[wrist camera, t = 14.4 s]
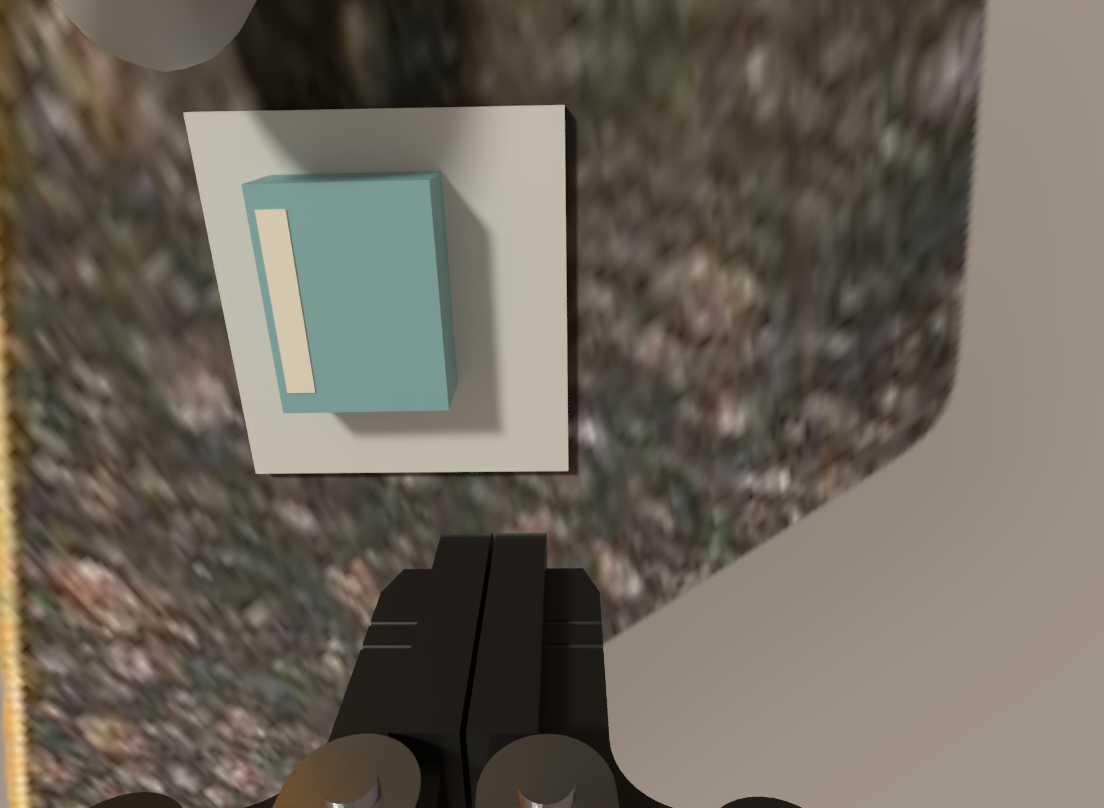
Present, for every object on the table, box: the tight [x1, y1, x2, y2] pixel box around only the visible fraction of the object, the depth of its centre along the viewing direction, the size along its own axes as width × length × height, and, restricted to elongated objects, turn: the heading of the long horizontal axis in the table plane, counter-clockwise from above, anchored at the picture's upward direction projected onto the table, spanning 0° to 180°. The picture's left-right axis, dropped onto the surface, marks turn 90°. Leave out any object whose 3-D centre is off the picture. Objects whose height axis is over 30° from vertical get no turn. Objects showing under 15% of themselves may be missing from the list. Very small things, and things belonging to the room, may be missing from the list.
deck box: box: [241, 171, 458, 413], centre depth 26 cm, size 8×3×6 cm
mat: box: [183, 105, 568, 474], centre depth 28 cm, size 14×13×1 cm
